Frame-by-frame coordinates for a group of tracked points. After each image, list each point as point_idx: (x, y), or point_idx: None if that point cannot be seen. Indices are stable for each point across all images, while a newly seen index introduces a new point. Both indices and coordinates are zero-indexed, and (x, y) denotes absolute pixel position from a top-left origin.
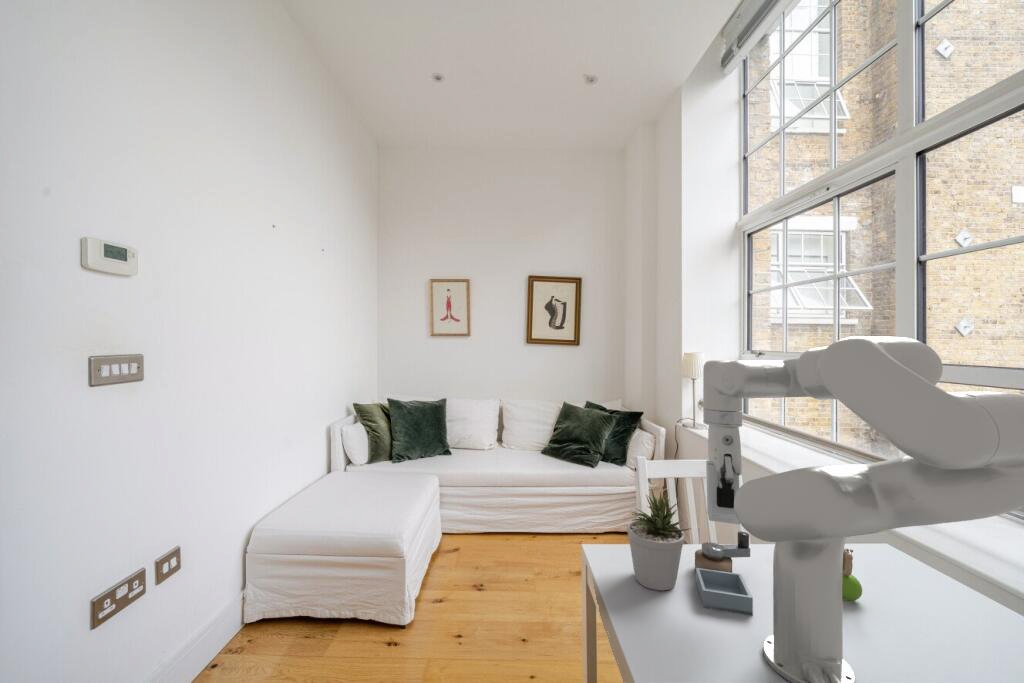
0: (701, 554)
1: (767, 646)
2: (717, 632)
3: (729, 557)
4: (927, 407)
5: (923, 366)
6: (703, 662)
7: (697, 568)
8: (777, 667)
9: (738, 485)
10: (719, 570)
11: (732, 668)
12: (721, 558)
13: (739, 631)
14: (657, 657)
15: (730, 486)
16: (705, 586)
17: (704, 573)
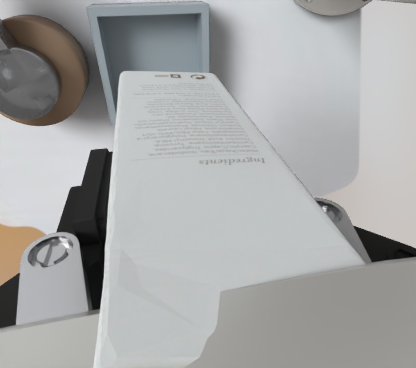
0: None
1: (321, 5)
2: (271, 85)
3: (6, 28)
4: None
5: None
6: (339, 113)
7: (113, 121)
8: (367, 2)
9: (295, 179)
10: (81, 64)
11: (349, 74)
12: (48, 60)
13: (261, 44)
14: (332, 166)
15: (362, 236)
16: None
17: (114, 102)
